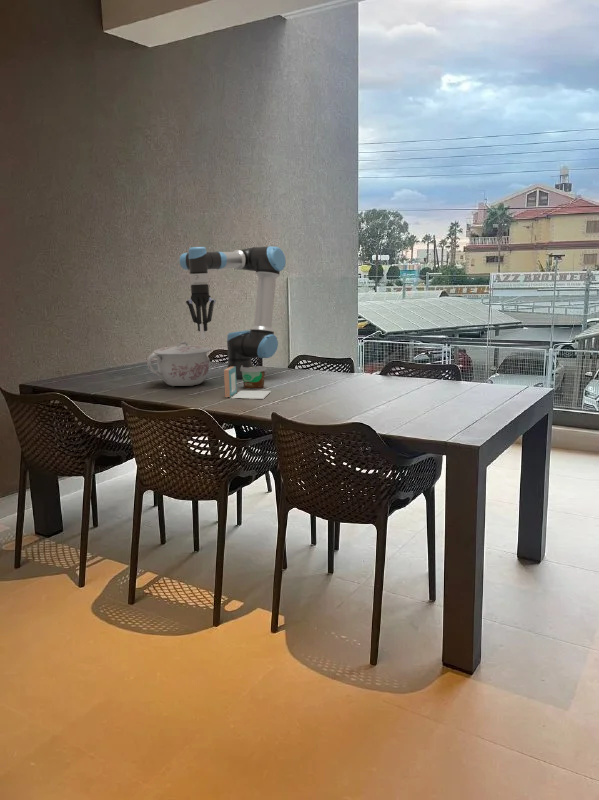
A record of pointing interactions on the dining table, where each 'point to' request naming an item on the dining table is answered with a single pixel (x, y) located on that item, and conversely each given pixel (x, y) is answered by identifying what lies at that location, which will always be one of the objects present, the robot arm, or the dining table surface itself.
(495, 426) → the dining table surface
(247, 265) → the robot arm
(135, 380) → the dining table surface
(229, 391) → the tile
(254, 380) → the food container
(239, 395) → the mat
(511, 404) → the dining table surface
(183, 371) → the chamber pot
